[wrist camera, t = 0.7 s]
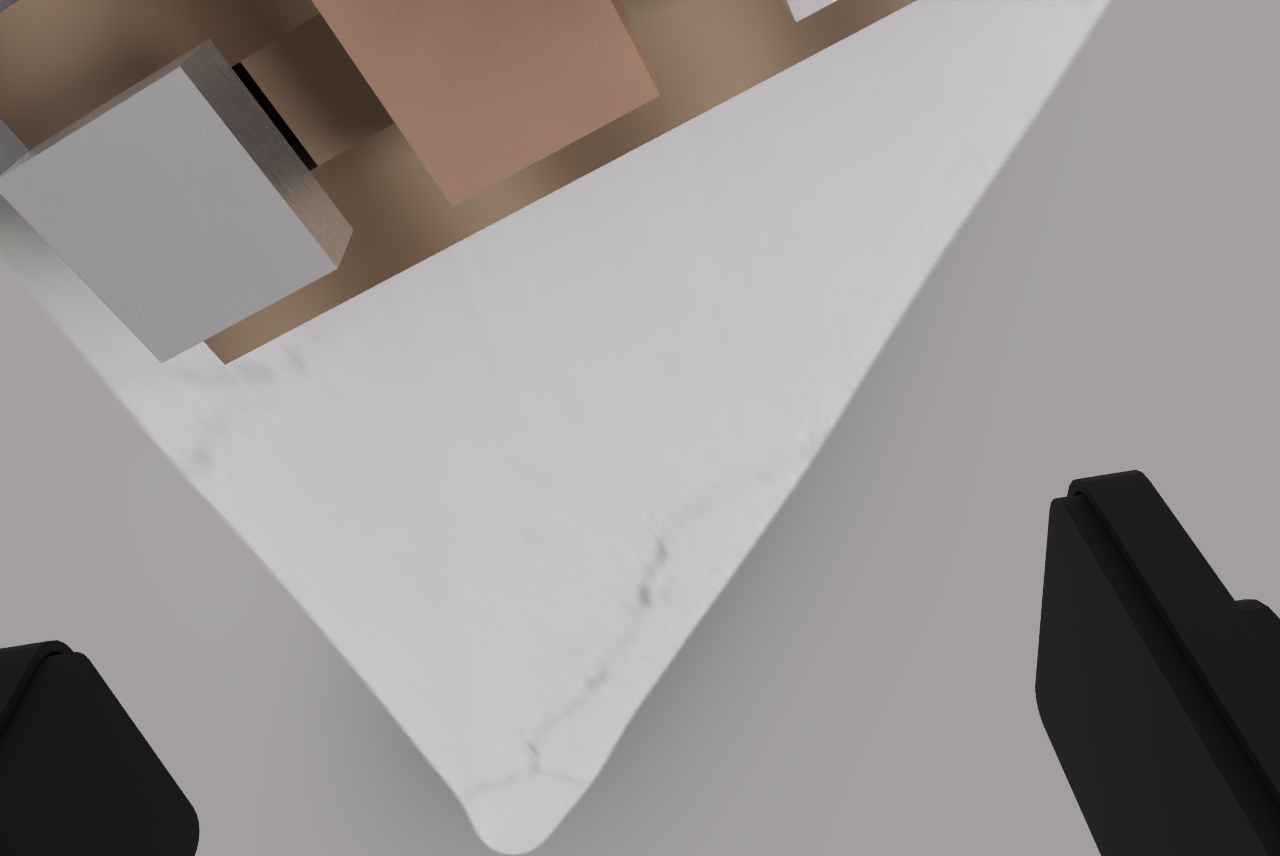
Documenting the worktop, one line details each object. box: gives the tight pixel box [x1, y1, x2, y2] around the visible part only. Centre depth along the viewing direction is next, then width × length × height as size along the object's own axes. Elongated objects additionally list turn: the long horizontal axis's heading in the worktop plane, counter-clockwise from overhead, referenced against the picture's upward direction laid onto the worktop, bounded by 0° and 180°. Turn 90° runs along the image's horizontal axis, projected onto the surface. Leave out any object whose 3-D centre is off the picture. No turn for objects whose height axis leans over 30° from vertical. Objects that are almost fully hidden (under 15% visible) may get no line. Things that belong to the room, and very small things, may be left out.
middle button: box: [312, 0, 660, 207], centre depth 23 cm, size 5×5×6 cm
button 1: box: [0, 39, 353, 363], centre depth 25 cm, size 5×5×6 cm
